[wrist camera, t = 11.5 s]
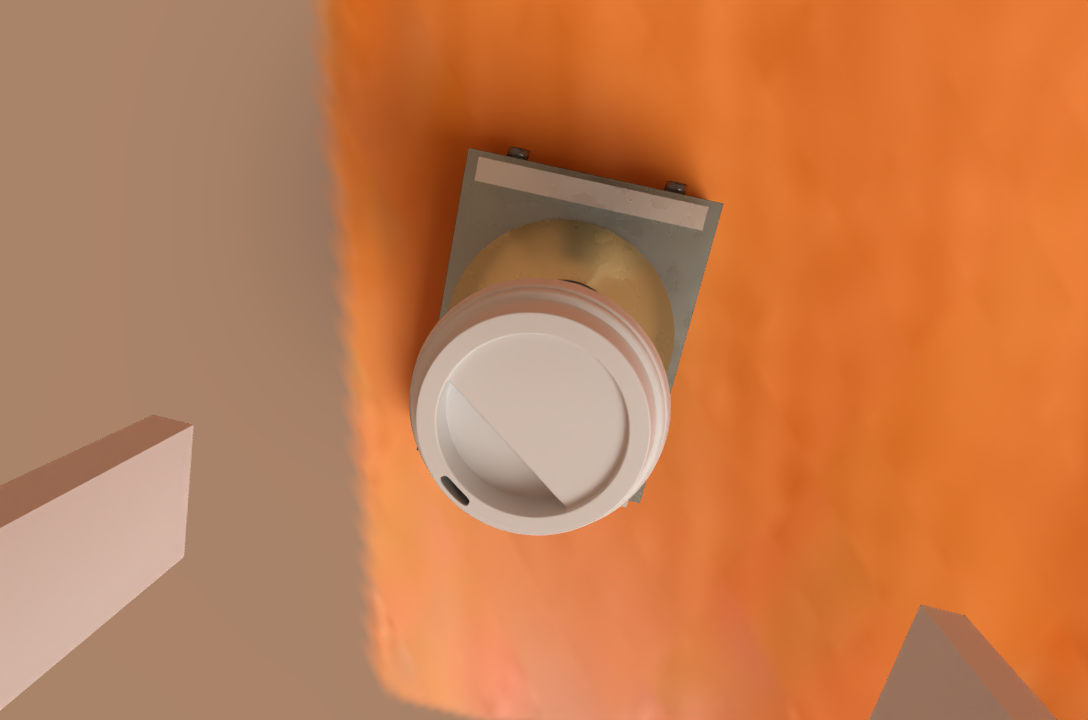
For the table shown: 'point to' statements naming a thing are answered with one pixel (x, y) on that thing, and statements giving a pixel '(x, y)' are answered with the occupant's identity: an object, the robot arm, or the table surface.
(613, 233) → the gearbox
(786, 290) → the table surface
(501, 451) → the coffee cup
